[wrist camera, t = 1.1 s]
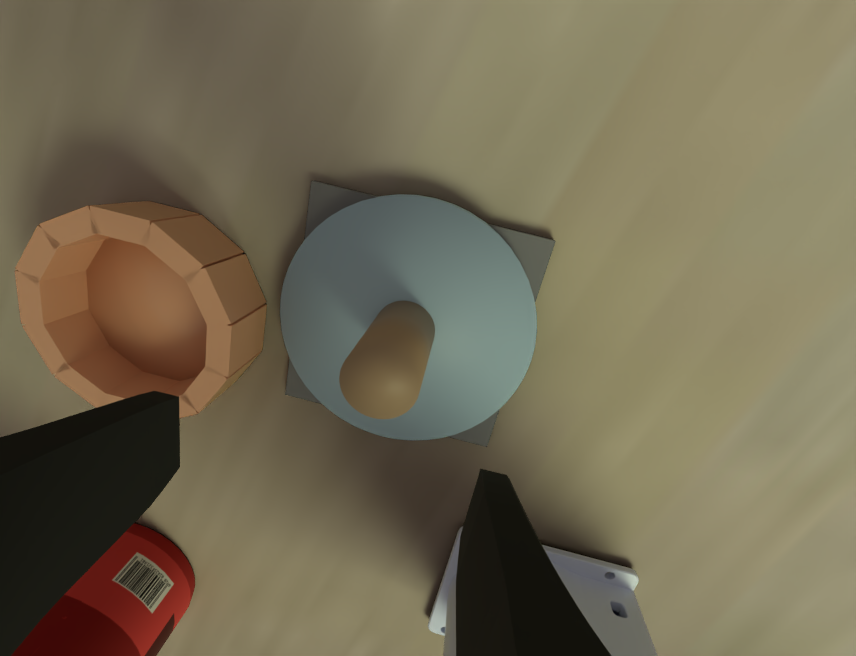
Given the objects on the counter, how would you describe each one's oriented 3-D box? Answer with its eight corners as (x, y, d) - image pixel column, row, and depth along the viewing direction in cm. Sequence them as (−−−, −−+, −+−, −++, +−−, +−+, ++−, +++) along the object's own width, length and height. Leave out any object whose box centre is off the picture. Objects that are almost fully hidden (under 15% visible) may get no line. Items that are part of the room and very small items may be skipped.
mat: (553, 239, 17) (555, 241, 17) (486, 442, 21) (486, 447, 20) (314, 180, 17) (311, 180, 17) (288, 390, 21) (285, 394, 21)
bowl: (273, 232, 18) (237, 242, 16) (256, 408, 22) (223, 443, 19) (75, 182, 19) (3, 183, 16) (87, 364, 22) (29, 392, 19)
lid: (571, 231, 17) (615, 257, 11) (494, 458, 21) (499, 554, 15) (301, 164, 17) (222, 160, 12) (274, 400, 21) (206, 476, 16)
